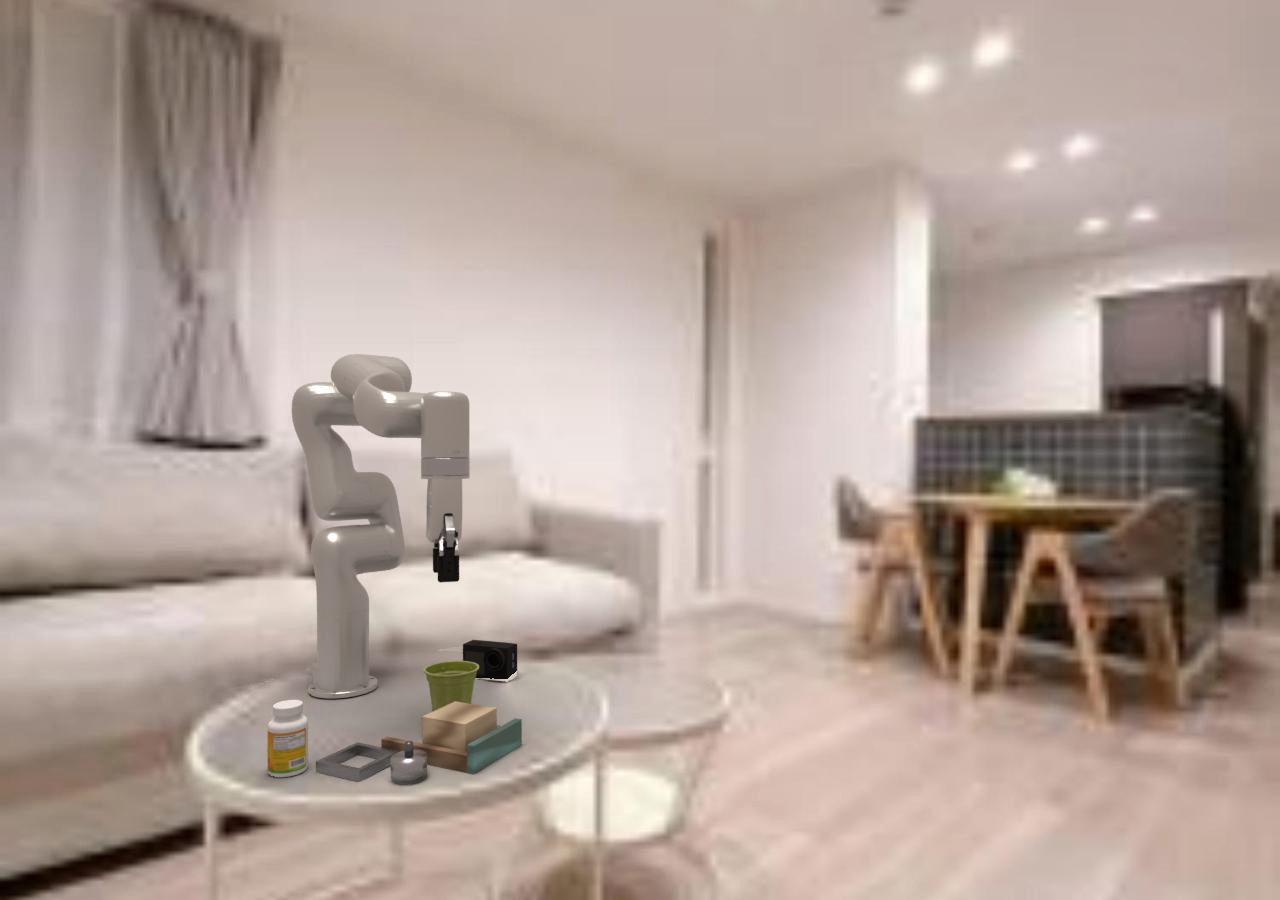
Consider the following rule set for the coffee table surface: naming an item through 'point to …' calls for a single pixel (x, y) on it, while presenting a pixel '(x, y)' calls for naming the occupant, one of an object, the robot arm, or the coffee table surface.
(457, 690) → the plant pot
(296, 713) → the supplement bottle
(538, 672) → the coffee table surface
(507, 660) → the digital camera
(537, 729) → the coffee table surface
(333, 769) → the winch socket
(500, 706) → the coffee table surface
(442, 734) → the bay
